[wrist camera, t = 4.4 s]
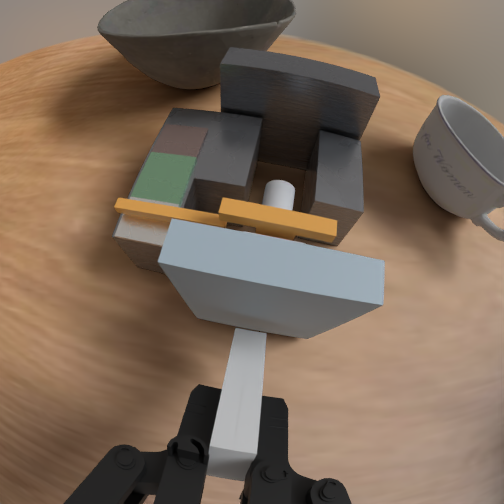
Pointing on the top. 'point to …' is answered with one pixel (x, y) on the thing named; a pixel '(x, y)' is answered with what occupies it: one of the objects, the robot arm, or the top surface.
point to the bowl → (191, 35)
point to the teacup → (462, 162)
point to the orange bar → (240, 218)
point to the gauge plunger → (269, 276)
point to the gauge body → (258, 145)
